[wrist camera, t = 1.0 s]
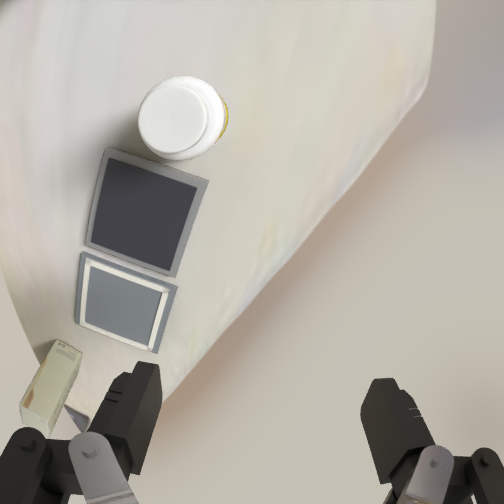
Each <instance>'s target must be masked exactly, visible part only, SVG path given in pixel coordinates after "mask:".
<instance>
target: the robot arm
mask: <svg viewBox="0 0 504 504" xmlns="http://www.w3.org/2000/svg"><path fill="white" fill-rule="evenodd" d="M161 404H162V387H161V378H160V369H159V365H158V364H153V363H147V362H141V361H138V362H137V364H136V366H135V368H134V370H133V372H132V373H127V372H123V373H122V374H120V375H119V376H118V377H117V378H115V379H114V380H113V382H112V384H111V386H110V388H109V391H108V392H107V393H106V395H105V397H104V400H103V401H102V403H101V405H100V407H99V409H98V411H97V413H96V415H95V417H94V419H93V421H92V423H91V425H90V427H89V428H88V430H87V431H86V432H83V433H80V434H78V435H76V436H75V437H74V438H73V439H72V440H54V439H46V438H45V437H44V435H43V434H42V433H41V432H40V431H39V430H37V429H35V428H32V427H24V428H21V429H18V430H17V431H16V432H14V433H13V435H12V436H11V438H10V440H9V442H8V443H7V445H6V447H5V449H4V451H3V453H2V455H1V456H0V504H68V501H69V497H70V495H71V494H77V495H84V497H85V500H86V502H87V504H139V503H138V501H137V499H136V498H135V496H134V494H133V492H132V490H131V488H130V486H129V484H128V479H129V476H130V473H132V474H136V475H140V472H141V468H142V466H143V462H144V459H145V456H146V453H147V449H148V446H149V443H150V440H151V437H152V433H153V430H154V427H155V424H156V421H157V418H158V414H159V412H160V408H161ZM360 415H361V421H362V424H363V428H364V431H365V434H366V437H367V440H368V444H369V446H370V450H371V453H372V457H373V460H374V464H375V467H376V470H377V474H378V477H379V481H380V484H385V483H391V484H392V488H391V490H390V491H389V493H388V495H387V497H386V499H385V501H384V503H383V504H473V502H472V499H471V496H472V495H473V494H474V496H475V499H476V502H477V504H504V467H503V465H502V463H501V461H500V459H499V457H498V455H497V454H496V453H495V452H494V451H493V450H491V449H489V448H479V449H477V450H476V451H475V452H474V453H473V454H472V456H471V457H463V456H453V455H452V454H451V452H450V451H449V450H447V449H446V448H444V447H442V446H439V445H435V442H434V440H433V438H432V436H431V434H430V432H429V430H428V428H427V426H426V424H425V422H424V419H423V417H421V413H420V411H419V410H418V409H417V406H416V404H415V402H414V400H413V398H412V397H411V396H410V395H409V394H408V393H407V392H406V391H405V390H400V389H399V387H398V385H397V383H396V381H395V379H393V378H381V379H374V380H373V381H372V383H371V386H370V388H369V390H368V393H367V395H366V397H365V400H364V402H363V404H362V407H361V414H360Z"/></svg>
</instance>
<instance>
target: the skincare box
mask: <svg viewBox="0 0 504 504" xmlns="http://www.w3.org/2000/svg"><path fill="white" fill-rule="evenodd" d="M81 356H82V353H81V352H79V351H77V350H75V349H74V348H72V347H70V346H68V345H66V344H65V343H63V342H61V341H59V340H56V341H55V343H54V344H53V346H52V348H51V349H50V351H49V352H48V354H47V356H46V358H45V359H44V361H43V363H42V364H41V366H40V368H39V369H38V371H37V373H36V375H35V376H34V378H33V380H32V382H31V384H30V385H29V387H28V389H27V391H26V393H25V395H24V397H23V398H22V400H21V402H20V404H19V408H20V415H21V419H22V423H23V424H25V425H27V426H28V427H32V428H35V429H37V430H39V431H40V432H41V433H42V434H43V435H44V436H45V437H47V438H50V436H51V434H52V431H53V429H54V426H55V424H56V422H57V419H58V417H59V414H60V412H61V410H62V408H63V405H64V403H65V401H66V399H67V396H68V394H69V392H70V390H71V388H72V386H73V383H74V381H75V379H76V377H77V375H78V371H79V367H80V362H81Z"/></svg>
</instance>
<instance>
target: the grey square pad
mask: <svg viewBox="0 0 504 504" xmlns="http://www.w3.org/2000/svg"><path fill="white" fill-rule="evenodd" d="M177 287H178V286H175V285H172V284H169V283H167V282H164V281H161V280H158V279H155V278H153V277H150V276H147V275H144V274H141V273H139V272H136V271H133V270H131V269H128V268H125V267H123V266H120V265H117V264H115V263H112V262H109V261H107V260H104V259H102V258H99V257H96V256H94V255H91V254H89V253H86V252H83V253H82V254H81V260H80V268H79V278H78V289H77V302H76V319H75V323H77V324H79V325H82V326H84V327H86V328H89V329H91V330H94V331H96V332H99V333H101V334H104V335H106V336H109V337H111V338H114V339H116V340H119V341H122V342H124V343H127V344H130V345H133V346H135V347H138V348H141V349H144V350H147V351H150V352H153V353H156V354H157V353H158V350H159V346H160V343H161V339H162V336H163V333H164V329H165V326H166V323H167V319H168V316H169V313H170V310H171V306H172V303H173V300H174V297H175V294H176V291H177Z"/></svg>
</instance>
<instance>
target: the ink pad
mask: <svg viewBox="0 0 504 504" xmlns="http://www.w3.org/2000/svg"><path fill="white" fill-rule="evenodd" d="M208 182H209V180H206V179H203V178H200V177H197V176H195V175H192V174H189V173H186V172H183V171H180V170H177V169H174V168H171V167H169V166H166V165H163V164H160V163H157V162H154V161H151V160H148V159H145V158H142V157H138V156H135V155H132V154H129V153H126V152H123V151H120V150H117V149H113V148H110V147H109V148H106V149H105V151H104V155H103V159H102V163H101V167H100V171H99V175H98V180H97V184H96V189H95V193H94V198H93V203H92V208H91V214H90V219H89V225H88V231H87V237H86V244H85V245H87V246H90V247H93V248H95V249H98V250H100V251H103V252H106V253H108V254H111V255H113V256H116V257H119V258H121V259H124V260H127V261H129V262H132V263H135V264H138V265H140V266H143V267H146V268H149V269H151V270H154V271H157V272H160V273H163V274H165V275H168V276H171V277H174V278H175V277H176V275H177V272H178V269H179V265H180V262H181V259H182V256H183V253H184V250H185V247H186V244H187V241H188V238H189V235H190V232H191V230H192V227H193V224H194V221H195V218H196V215H197V212H198V210H199V207H200V204H201V201H202V198H203V196H204V193H205V190H206V188H207V185H208Z"/></svg>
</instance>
